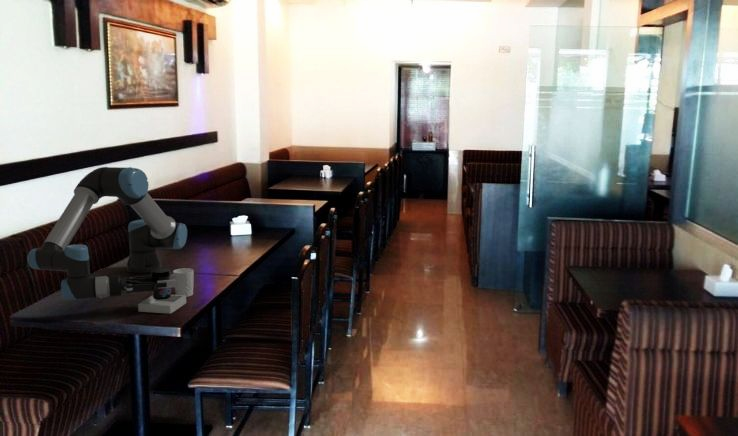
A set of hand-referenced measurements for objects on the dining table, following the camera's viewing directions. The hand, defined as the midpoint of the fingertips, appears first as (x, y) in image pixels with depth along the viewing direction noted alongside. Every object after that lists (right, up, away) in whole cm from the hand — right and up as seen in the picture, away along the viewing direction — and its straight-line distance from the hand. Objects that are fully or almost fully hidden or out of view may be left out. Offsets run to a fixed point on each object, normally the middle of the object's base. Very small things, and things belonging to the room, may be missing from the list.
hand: (175, 280), depth 233 cm
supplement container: (-5, -6, -1) cm, 8 cm away
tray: (-5, -10, 0) cm, 11 cm away
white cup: (-1, -7, +15) cm, 17 cm away
